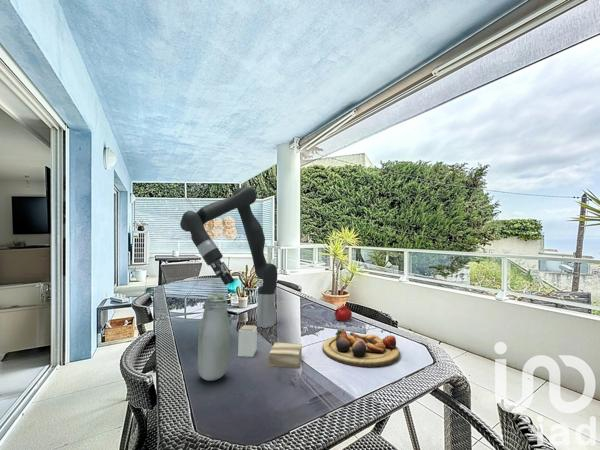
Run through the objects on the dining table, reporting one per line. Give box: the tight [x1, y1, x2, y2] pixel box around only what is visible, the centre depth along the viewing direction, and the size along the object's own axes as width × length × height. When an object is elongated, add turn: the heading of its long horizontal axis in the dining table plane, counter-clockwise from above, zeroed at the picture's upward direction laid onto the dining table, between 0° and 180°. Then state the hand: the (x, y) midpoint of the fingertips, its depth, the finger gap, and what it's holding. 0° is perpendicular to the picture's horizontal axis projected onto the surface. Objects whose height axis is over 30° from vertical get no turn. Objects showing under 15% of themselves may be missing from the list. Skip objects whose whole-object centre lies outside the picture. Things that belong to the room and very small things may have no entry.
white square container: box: [237, 324, 258, 358], centre depth 119 cm, size 6×6×10 cm
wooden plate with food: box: [321, 328, 401, 368], centre depth 124 cm, size 32×32×8 cm
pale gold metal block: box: [268, 342, 303, 369], centre depth 113 cm, size 11×11×5 cm
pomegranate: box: [334, 303, 353, 322], centre depth 170 cm, size 10×10×9 cm
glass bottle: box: [197, 293, 232, 382], centre depth 98 cm, size 10×10×28 cm
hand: (230, 283), depth 125 cm, fingers open, 8 cm apart
